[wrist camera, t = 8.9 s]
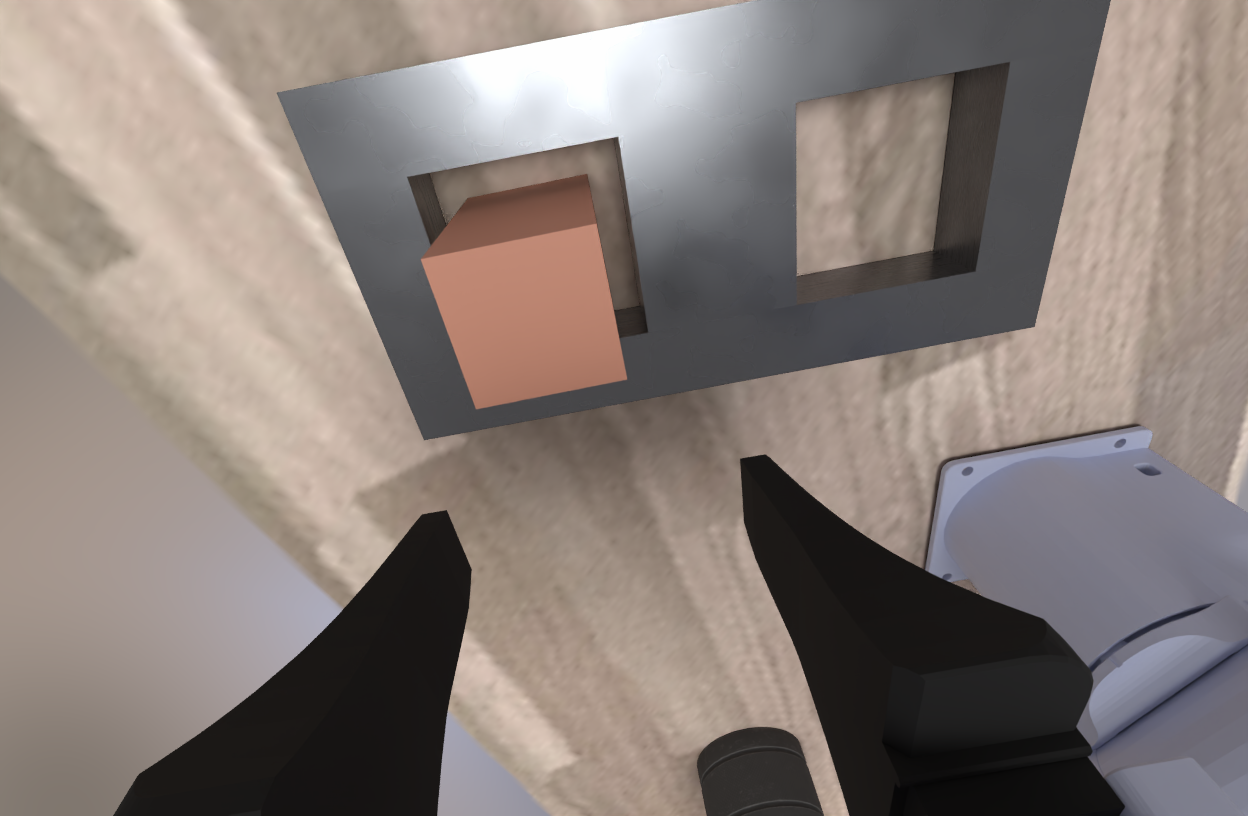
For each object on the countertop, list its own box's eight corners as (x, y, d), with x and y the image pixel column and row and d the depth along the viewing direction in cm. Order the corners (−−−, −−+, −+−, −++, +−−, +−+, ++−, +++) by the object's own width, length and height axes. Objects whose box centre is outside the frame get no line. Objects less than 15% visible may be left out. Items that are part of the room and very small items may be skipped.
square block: (587, 173, 19) (596, 223, 13) (609, 289, 21) (627, 379, 15) (467, 198, 19) (420, 259, 13) (502, 311, 21) (476, 409, 15)
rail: (1054, -54, 16) (1127, -72, 14) (989, 302, 22) (1034, 326, 20) (314, 89, 17) (277, 92, 15) (437, 404, 22) (424, 440, 20)
